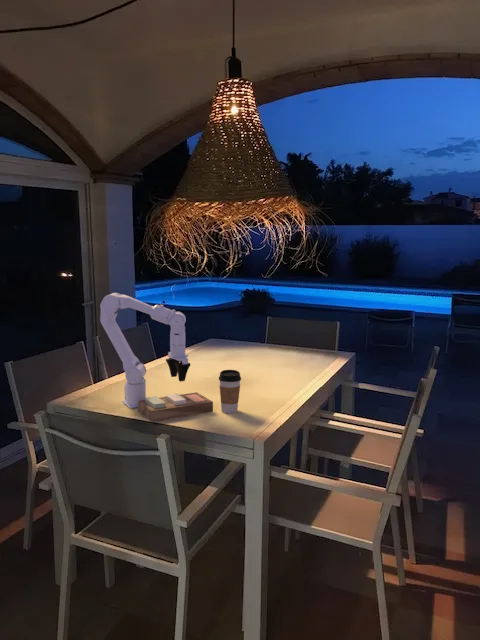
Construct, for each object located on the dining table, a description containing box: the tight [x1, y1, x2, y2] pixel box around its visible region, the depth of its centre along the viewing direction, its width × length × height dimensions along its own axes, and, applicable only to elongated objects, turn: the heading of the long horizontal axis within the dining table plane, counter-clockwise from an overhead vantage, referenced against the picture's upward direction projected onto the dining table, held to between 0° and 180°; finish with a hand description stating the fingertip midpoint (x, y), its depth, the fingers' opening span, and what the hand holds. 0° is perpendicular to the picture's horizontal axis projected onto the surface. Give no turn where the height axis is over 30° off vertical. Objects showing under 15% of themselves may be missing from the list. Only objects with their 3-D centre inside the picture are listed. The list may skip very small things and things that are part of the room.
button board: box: [137, 391, 214, 423], centre depth 199 cm, size 14×24×4 cm, turn 120°
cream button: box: [164, 393, 186, 406], centre depth 199 cm, size 9×4×4 cm, turn 30°
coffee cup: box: [218, 369, 242, 415], centre depth 199 cm, size 8×8×15 cm
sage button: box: [145, 396, 166, 409], centre depth 195 cm, size 9×4×4 cm, turn 30°
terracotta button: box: [185, 394, 206, 402], centre depth 203 cm, size 9×4×4 cm, turn 30°
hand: (177, 378), depth 206 cm, fingers open, 7 cm apart
